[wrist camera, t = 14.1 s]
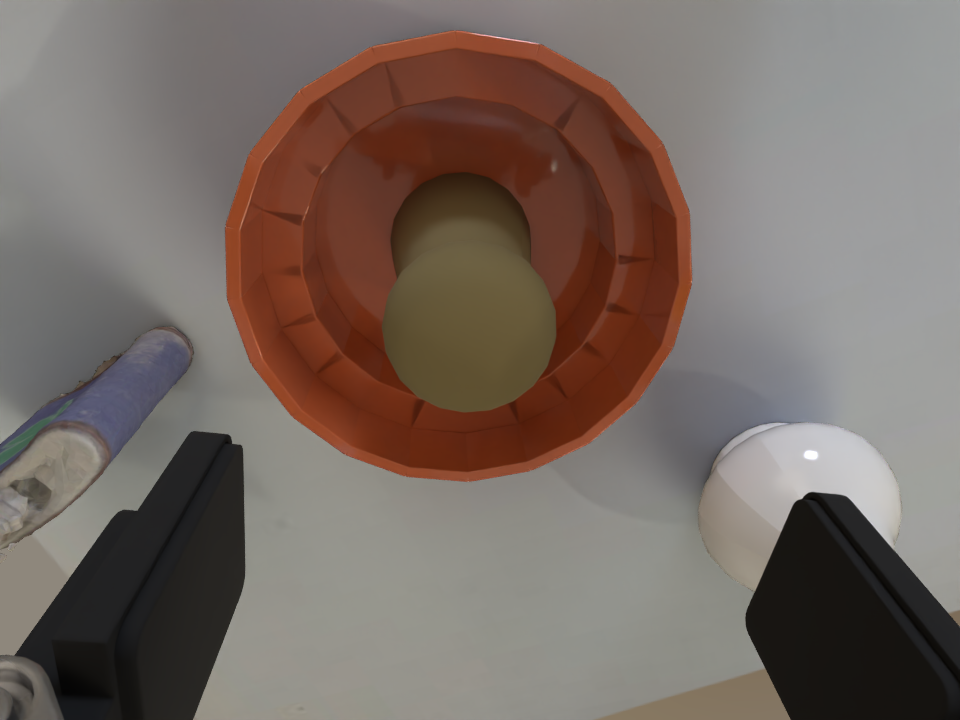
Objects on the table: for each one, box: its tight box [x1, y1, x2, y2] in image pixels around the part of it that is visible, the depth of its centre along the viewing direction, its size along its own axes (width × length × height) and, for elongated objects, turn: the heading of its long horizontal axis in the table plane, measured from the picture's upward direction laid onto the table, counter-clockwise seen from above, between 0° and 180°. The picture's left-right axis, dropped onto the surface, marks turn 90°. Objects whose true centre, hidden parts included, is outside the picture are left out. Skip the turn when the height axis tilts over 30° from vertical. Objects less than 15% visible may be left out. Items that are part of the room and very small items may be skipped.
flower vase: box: [698, 422, 960, 627], centre depth 23 cm, size 13×18×25 cm
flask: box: [0, 326, 194, 563], centre depth 26 cm, size 9×3×11 cm, turn 123°
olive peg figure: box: [382, 172, 556, 412], centre depth 23 cm, size 6×6×11 cm
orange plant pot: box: [225, 30, 692, 482], centre depth 26 cm, size 16×16×6 cm
